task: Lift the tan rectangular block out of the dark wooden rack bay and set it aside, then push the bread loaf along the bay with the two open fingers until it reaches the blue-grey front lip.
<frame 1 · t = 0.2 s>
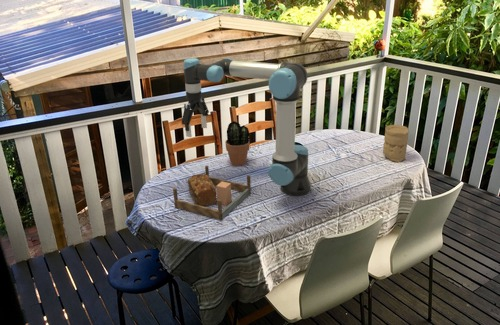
hand: (196, 132, 227), 28 cm above the table, fingers open, 13 cm apart
bay: (215, 200, 219), on the table
container: (393, 158, 259), on the table
potted plant: (238, 162, 258), on the table
tan rectangular block: (224, 202, 217), resting in bay
bread: (202, 197, 223), on the table
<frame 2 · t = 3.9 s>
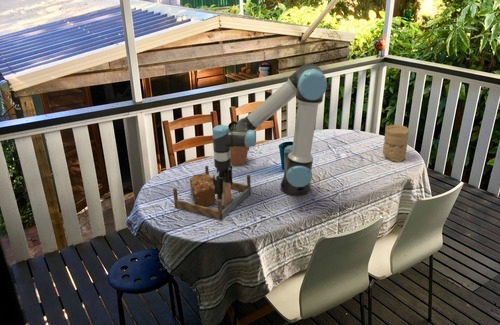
hand: (224, 202, 217), 0 cm above the table, fingers closed on tan rectangular block, 5 cm apart
tan rectangular block: (224, 202, 217), resting in bay, touching gripper
when the fingers open (2 cm above the table, at t = 8.1 s): tan rectangular block drops 1 cm, on the table.
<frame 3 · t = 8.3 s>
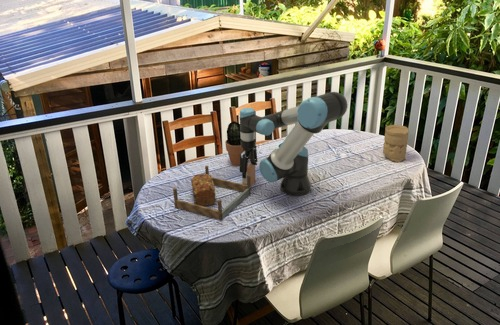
hand: (249, 179, 234), 2 cm above the table, fingers open, 8 cm apart
tan rectangular block: (249, 183, 235), on the table
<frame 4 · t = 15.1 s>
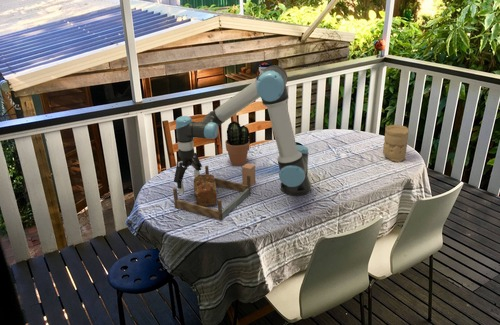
hand: (189, 187, 224), 4 cm above the table, fingers open, 13 cm apart
bread: (205, 197, 222), on the table, touching gripper
everything else where it was.
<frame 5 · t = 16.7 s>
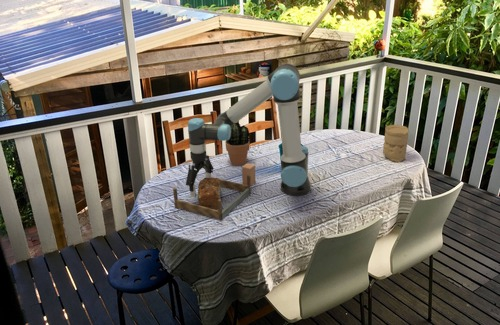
hand: (201, 190, 221), 4 cm above the table, fingers open, 13 cm apart
bread: (210, 201, 219), on the table, touching gripper
everything else where it was.
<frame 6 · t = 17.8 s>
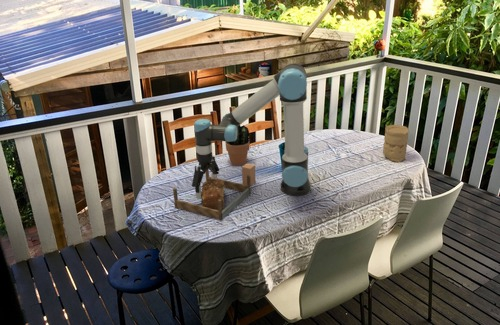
hand: (207, 191, 220), 4 cm above the table, fingers open, 13 cm apart
bread: (213, 203, 217), on the table
everything else where it was.
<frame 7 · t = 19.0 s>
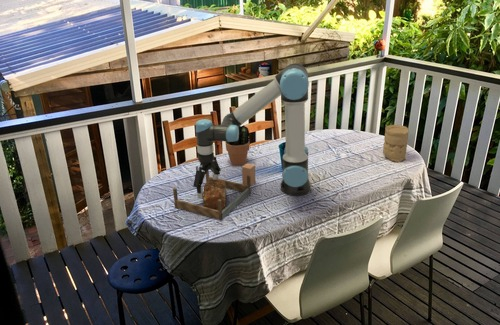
hand: (208, 192, 219), 4 cm above the table, fingers open, 13 cm apart
nothing on the table moved.
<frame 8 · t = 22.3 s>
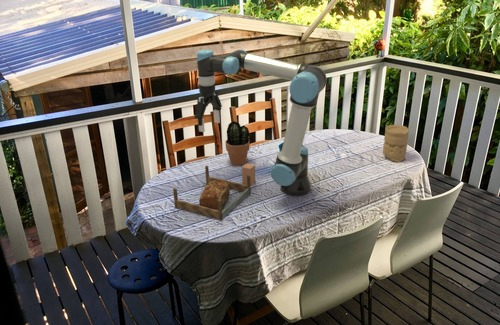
hand: (209, 126, 219), 33 cm above the table, fingers open, 13 cm apart
at the end: bread inside the target area (3.5 cm from its centre), on the table; bread moved 9.5 cm from its start; tan rectangular block inside the target area (0.1 cm from its centre), on the table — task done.
